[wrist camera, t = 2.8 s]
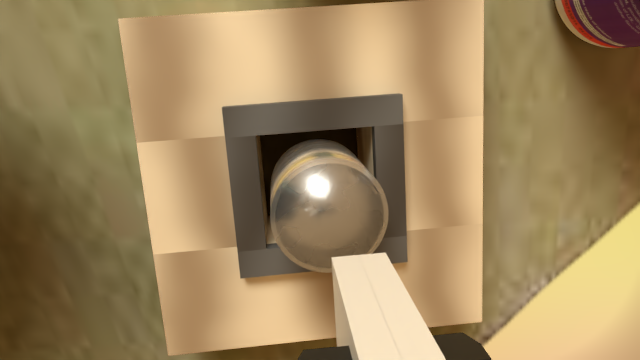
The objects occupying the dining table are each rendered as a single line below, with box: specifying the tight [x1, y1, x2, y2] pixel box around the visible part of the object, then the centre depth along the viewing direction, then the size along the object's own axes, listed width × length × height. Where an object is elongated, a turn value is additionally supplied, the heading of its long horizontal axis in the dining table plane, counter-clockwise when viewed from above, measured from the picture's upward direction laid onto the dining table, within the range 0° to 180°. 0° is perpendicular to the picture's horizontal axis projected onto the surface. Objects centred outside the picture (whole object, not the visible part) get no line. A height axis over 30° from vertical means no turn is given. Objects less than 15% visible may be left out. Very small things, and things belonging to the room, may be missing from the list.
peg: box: [270, 139, 388, 273], centre depth 24 cm, size 5×5×6 cm
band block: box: [118, 0, 484, 356], centre depth 29 cm, size 18×18×6 cm
